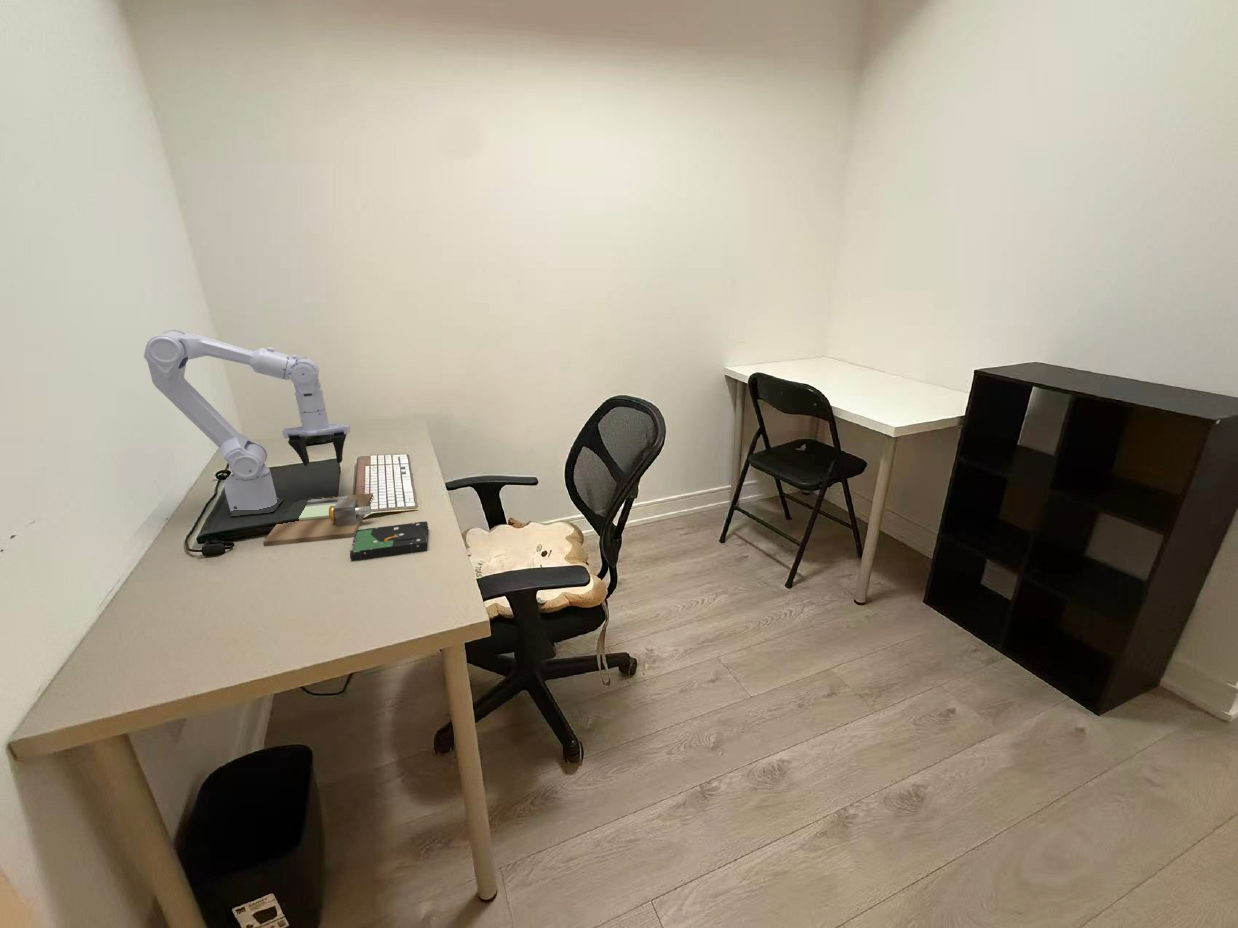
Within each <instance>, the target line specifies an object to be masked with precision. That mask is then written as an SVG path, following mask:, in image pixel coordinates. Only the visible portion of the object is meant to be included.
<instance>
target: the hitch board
mask: <svg viewBox="0 0 1238 928" xmlns="http://www.w3.org/2000/svg"><path fill="white" fill-rule="evenodd" d="M336 496H337V497H335V496H332V497H333V498H324V497H321V498H322V499H313V498H310V499H311V500H308V501H307V505H311V504H322V503H333V502H337V503H336V505H335V507H334V508H333V510H334V514H335V519H336V521H331V520H330V518H320V519H310V520H300V521H295V522H288V523H283V524H277V523H276V525H275V526H274V527H273V528H272V529H271V531H270V532H269V533H268V535H267V536H266V538H265V539H264V540H263V542H262V543H263V546H264V547H268V546H278V545H288V544H299V543H308V542H316V541H317V542H319V541H326V540H337V539H346V538H347V539H348V538H354V536H355V533H356V530H359V528H360V526H361V524H362V521H363V520H364V518H365V515H366V514H364V515H356V514H355V509H354V508H355V507H365V506H370V505H369V503H370V501H371V502H372V500H373V498H374V493H372V492H370V493H361V494H347V495H336ZM372 497H373V498H372ZM371 499H372V500H371ZM370 504H371V503H370Z"/></svg>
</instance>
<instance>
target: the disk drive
mask: <svg viewBox="0 0 1238 928" xmlns="http://www.w3.org/2000/svg"><path fill="white" fill-rule="evenodd" d="M428 523H429V522H428V521H426V520H425V521H418V522H409V523H401V524H395V525H386V526H378V527H370V528H369V527H368V528H365V529H361V528H360V529H358V530H356V533H355V536H354V537H352V538H353V539H352V543H351V547H350V549H349V558H350V562H357V561H364V560H365V561H366V560H371V559H373V560H374V559H378V558H379V559H380V558H386V557H387V558H388V557H394V556H395V557H396V556H400V555H408V554H415V553H416V554H418V553H422V552H428V542H429V541H428V540H429V524H428Z"/></svg>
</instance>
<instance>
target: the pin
mask: <svg viewBox="0 0 1238 928" xmlns="http://www.w3.org/2000/svg"><path fill="white" fill-rule="evenodd" d="M334 507H335V506H330V508H329V518H330V520H331V521H336V519H335V514H334V510H333V508H334ZM354 509H355V514H356V515H364V514H365V515H371V513H372V510H371V506H370V505H369V506H365V507H355V508H354ZM365 515H364V516H365Z"/></svg>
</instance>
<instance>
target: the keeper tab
mask: <svg viewBox="0 0 1238 928" xmlns="http://www.w3.org/2000/svg"><path fill="white" fill-rule="evenodd" d="M336 503H337V502H333V503H322V504H311V505H306V506H305V508H304V510H303V511H302V513H301V515H300V516H299V518H298V519H299V521H300V520H310V519H320V518H329V508H330V506H335V505H336Z"/></svg>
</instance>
